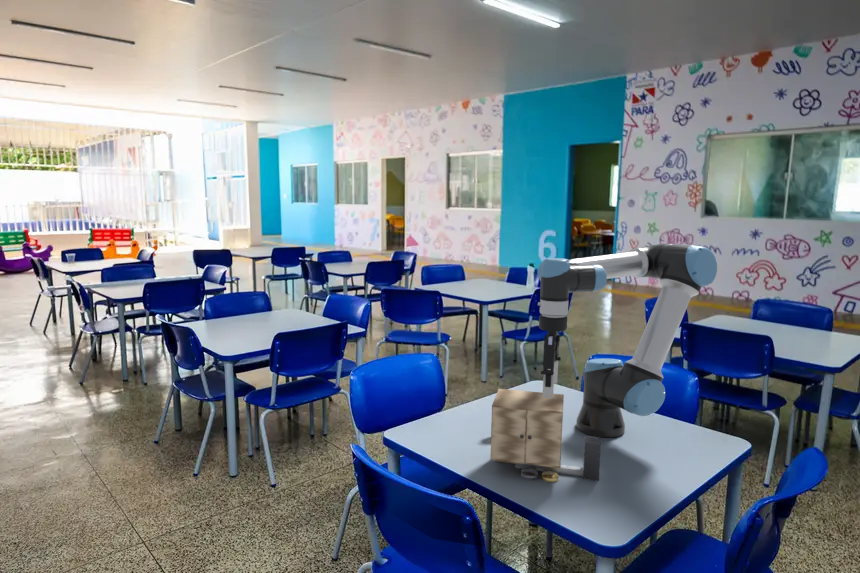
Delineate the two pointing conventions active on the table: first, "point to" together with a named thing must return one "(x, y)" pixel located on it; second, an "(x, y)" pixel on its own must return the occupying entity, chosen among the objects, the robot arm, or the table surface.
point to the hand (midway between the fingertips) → (550, 390)
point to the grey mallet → (587, 471)
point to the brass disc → (550, 476)
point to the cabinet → (527, 428)
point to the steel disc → (529, 474)
